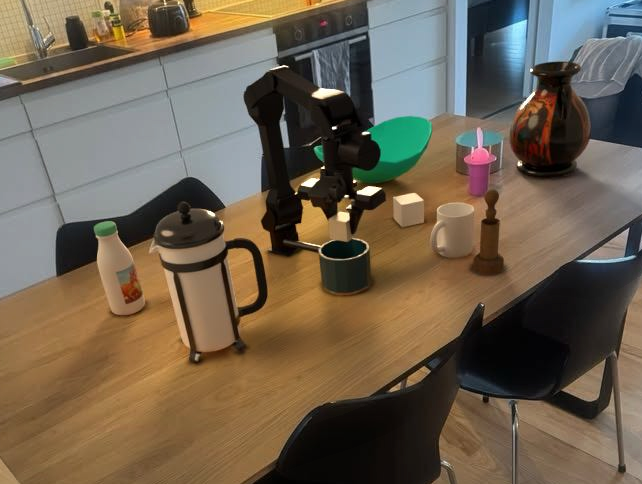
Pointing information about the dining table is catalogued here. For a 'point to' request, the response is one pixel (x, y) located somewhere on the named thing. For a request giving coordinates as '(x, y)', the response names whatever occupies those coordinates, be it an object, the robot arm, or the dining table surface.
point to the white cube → (408, 209)
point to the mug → (453, 230)
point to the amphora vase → (550, 124)
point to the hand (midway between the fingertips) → (343, 232)
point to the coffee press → (204, 279)
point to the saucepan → (341, 264)
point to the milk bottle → (117, 271)
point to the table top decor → (394, 148)
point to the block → (341, 227)
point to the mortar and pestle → (489, 239)
